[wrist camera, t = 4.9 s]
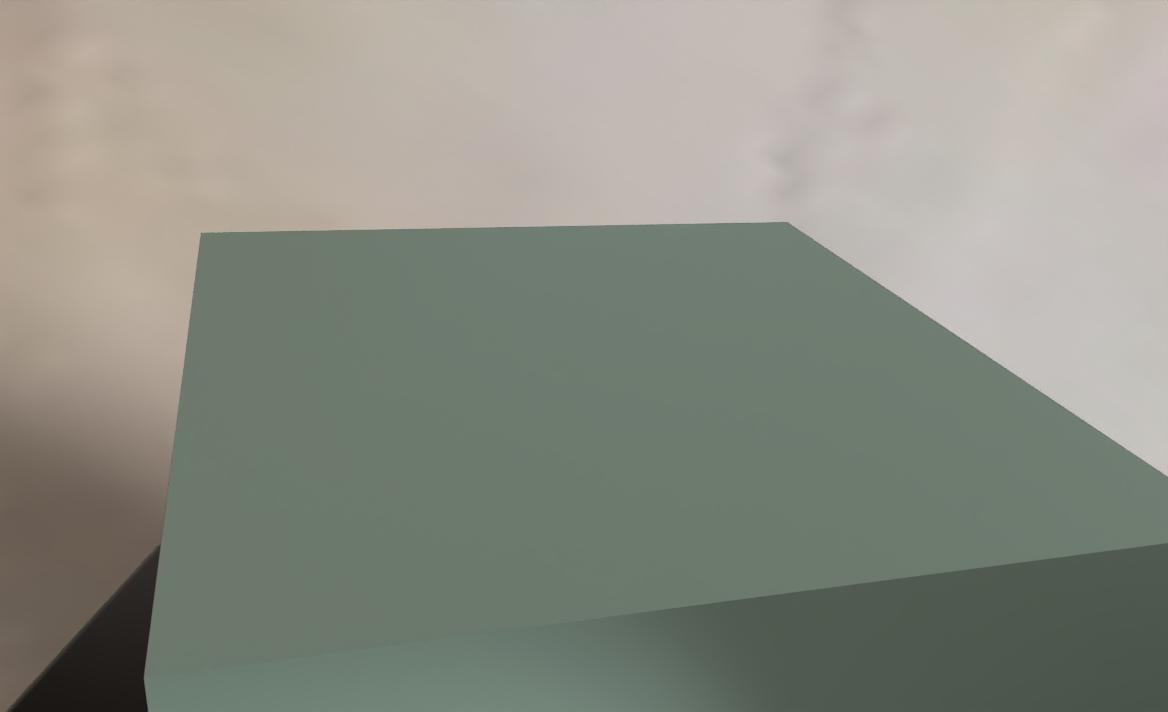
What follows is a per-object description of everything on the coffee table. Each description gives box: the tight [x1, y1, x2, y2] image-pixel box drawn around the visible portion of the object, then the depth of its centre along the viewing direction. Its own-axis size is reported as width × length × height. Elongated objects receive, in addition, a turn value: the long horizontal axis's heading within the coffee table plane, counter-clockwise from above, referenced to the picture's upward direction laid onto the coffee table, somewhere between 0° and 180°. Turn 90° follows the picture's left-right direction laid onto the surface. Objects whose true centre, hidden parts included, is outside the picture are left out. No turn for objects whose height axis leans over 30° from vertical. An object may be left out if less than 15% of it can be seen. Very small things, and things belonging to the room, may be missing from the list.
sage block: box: [144, 222, 1168, 712], centre depth 8 cm, size 5×5×5 cm
